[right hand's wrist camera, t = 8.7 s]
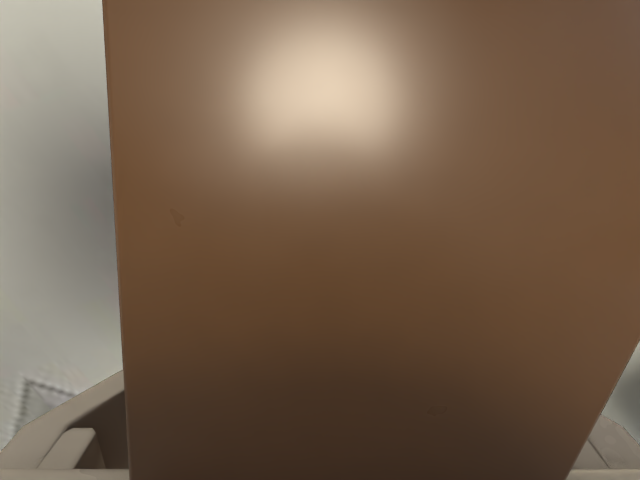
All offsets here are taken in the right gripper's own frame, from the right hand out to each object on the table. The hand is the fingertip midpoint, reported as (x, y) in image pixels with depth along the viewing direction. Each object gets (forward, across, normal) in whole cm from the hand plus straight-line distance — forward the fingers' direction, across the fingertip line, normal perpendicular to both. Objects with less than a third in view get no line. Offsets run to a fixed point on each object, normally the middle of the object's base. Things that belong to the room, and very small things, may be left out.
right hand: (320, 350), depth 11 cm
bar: (+3, -1, -9) cm, 10 cm away
